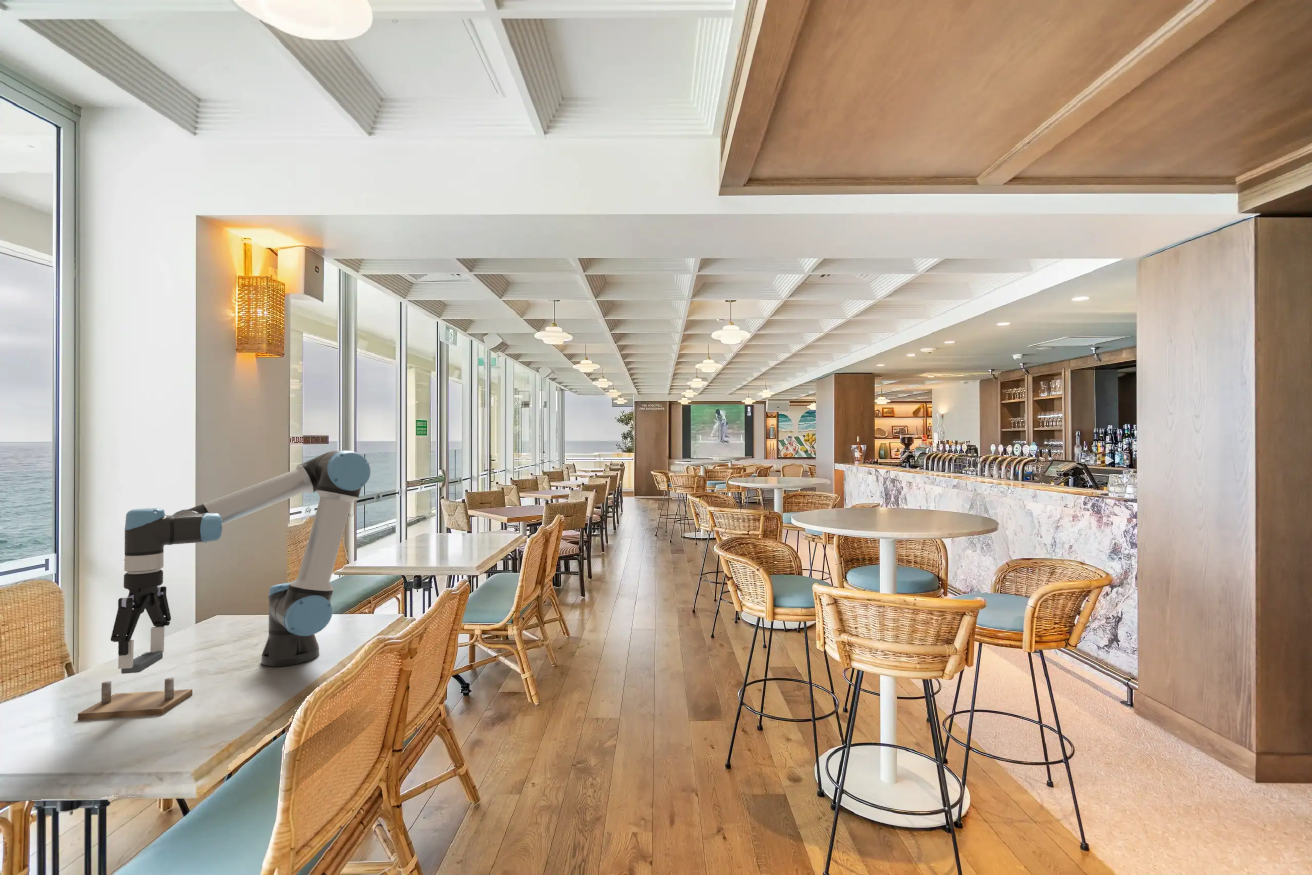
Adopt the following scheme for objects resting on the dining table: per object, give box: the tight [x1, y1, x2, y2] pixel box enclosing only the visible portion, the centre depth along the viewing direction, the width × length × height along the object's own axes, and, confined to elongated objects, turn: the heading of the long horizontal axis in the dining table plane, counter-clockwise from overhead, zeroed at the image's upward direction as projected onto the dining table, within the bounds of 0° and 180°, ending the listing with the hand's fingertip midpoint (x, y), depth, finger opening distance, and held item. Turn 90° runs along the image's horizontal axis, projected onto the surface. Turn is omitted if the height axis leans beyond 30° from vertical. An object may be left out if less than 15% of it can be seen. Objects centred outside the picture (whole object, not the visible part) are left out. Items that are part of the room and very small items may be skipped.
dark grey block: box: [120, 651, 164, 675], centre depth 151 cm, size 4×10×2 cm, turn 15°
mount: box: [77, 677, 193, 721], centre depth 151 cm, size 18×12×6 cm, turn 99°
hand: (141, 659), depth 151 cm, fingers closed on dark grey block, 11 cm apart
